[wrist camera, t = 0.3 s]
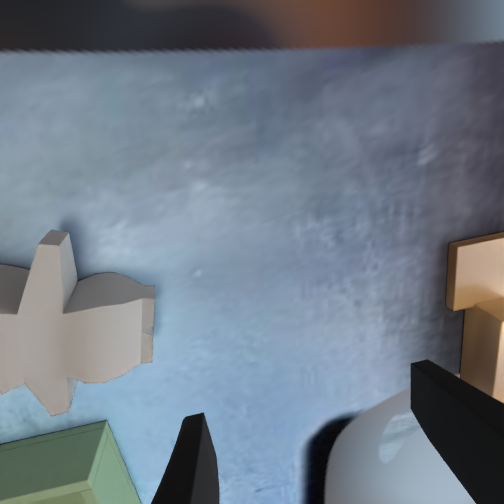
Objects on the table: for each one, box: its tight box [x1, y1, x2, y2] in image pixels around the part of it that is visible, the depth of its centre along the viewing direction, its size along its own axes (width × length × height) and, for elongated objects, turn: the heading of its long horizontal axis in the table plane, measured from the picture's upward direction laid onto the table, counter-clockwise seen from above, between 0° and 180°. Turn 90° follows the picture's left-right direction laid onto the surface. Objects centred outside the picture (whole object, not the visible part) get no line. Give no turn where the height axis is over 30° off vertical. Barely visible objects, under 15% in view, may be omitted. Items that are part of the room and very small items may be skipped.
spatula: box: [446, 232, 504, 403], centre depth 23 cm, size 13×5×3 cm, turn 9°
